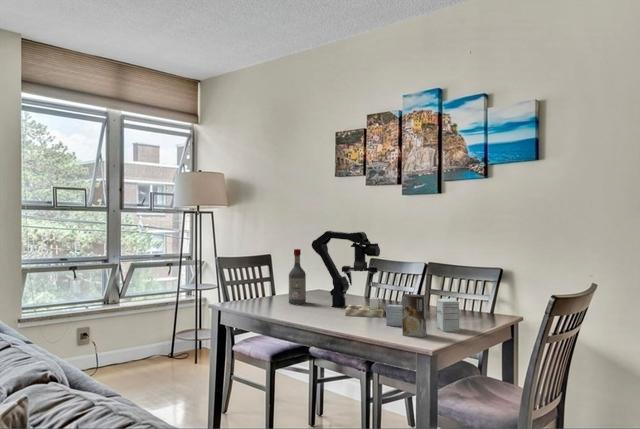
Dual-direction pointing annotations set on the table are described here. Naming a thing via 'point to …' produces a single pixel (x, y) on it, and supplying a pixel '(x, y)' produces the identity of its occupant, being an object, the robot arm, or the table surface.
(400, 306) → the medicine box
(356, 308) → the socket block
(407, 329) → the coffee box
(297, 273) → the liquor
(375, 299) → the white squarish block
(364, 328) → the table surface
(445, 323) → the supplement box
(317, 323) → the table surface
